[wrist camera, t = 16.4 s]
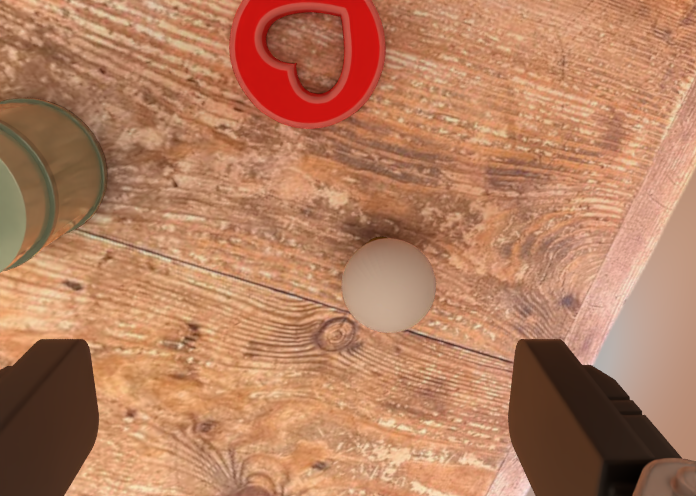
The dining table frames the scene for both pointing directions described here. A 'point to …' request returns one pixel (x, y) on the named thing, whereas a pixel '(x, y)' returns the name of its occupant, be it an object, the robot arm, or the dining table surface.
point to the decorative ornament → (281, 78)
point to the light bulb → (388, 285)
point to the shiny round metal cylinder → (44, 176)
